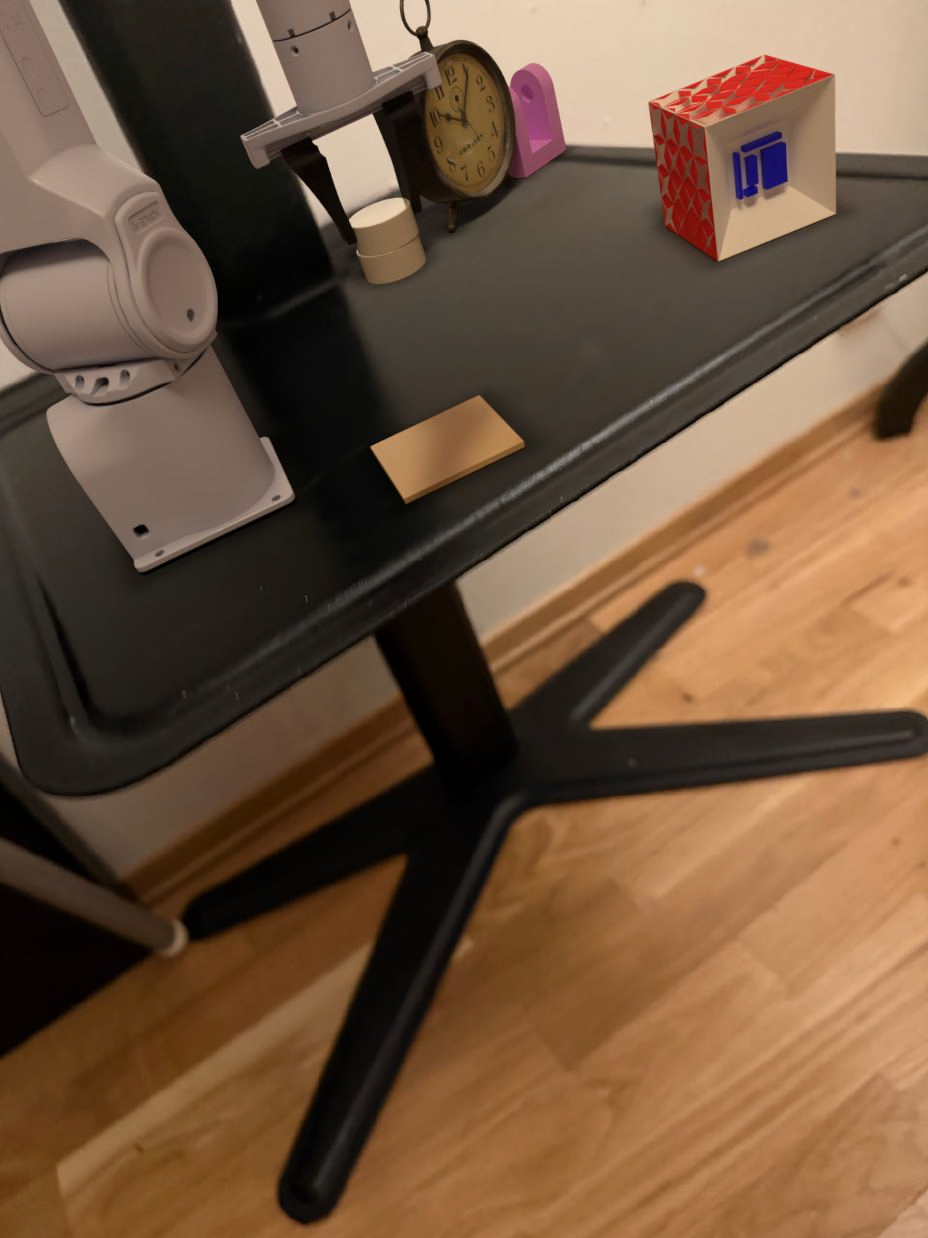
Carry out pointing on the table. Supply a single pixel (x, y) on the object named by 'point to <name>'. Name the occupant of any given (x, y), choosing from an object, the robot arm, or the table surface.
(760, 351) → the table surface
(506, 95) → the alarm clock
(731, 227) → the puzzle cube
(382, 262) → the beige round disc
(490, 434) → the placemat
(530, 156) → the bracket
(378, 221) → the short cream cylinder
